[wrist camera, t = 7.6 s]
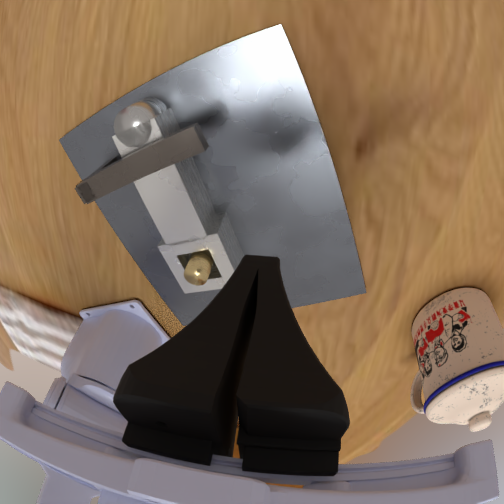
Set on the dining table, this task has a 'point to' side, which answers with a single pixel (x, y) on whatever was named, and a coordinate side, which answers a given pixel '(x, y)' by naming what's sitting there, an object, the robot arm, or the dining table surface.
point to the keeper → (142, 162)
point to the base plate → (240, 171)
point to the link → (178, 199)
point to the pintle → (199, 267)
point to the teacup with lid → (459, 359)
